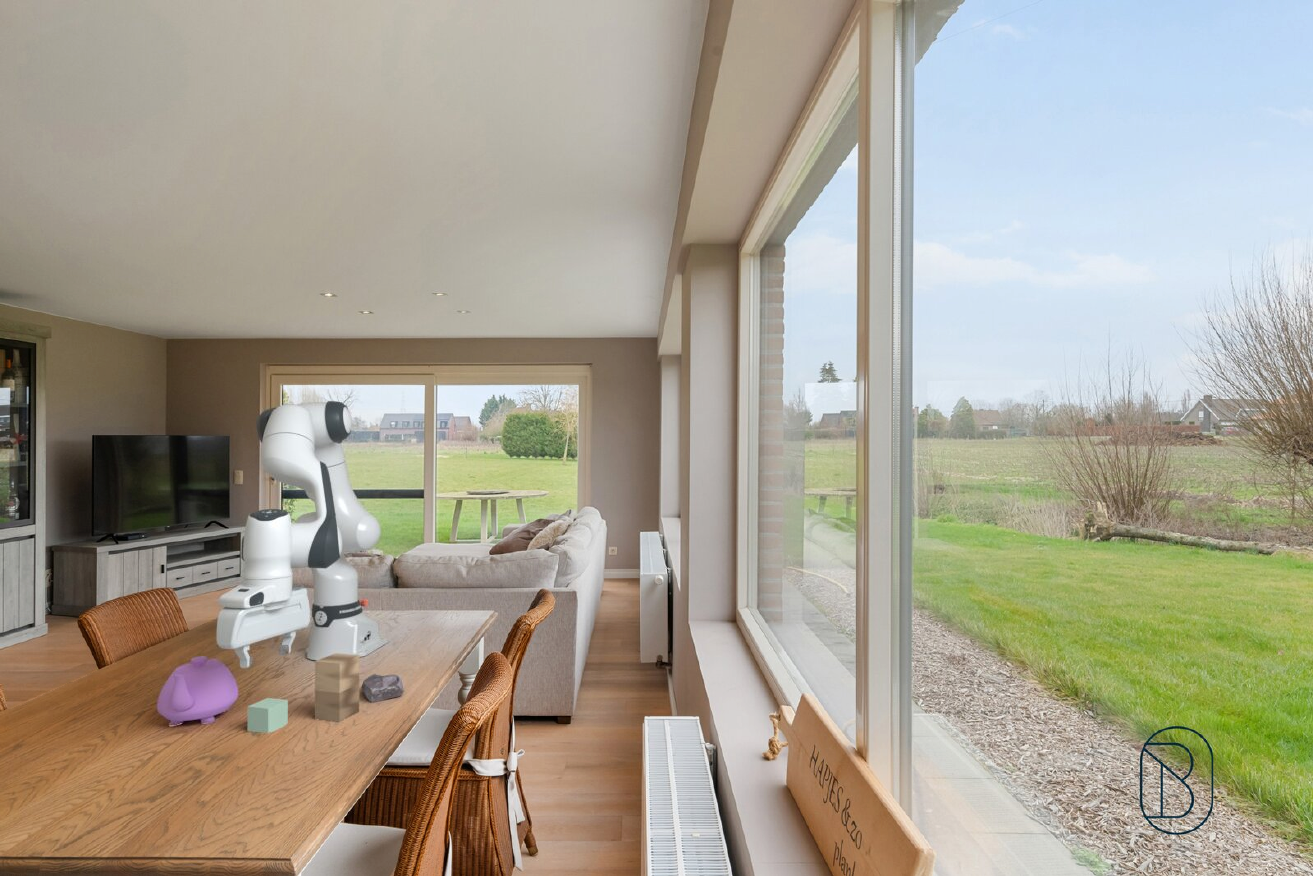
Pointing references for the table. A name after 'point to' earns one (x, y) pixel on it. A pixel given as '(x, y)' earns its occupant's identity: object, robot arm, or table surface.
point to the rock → (382, 687)
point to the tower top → (336, 672)
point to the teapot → (197, 691)
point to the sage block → (267, 715)
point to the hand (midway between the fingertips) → (266, 660)
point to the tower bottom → (336, 704)
